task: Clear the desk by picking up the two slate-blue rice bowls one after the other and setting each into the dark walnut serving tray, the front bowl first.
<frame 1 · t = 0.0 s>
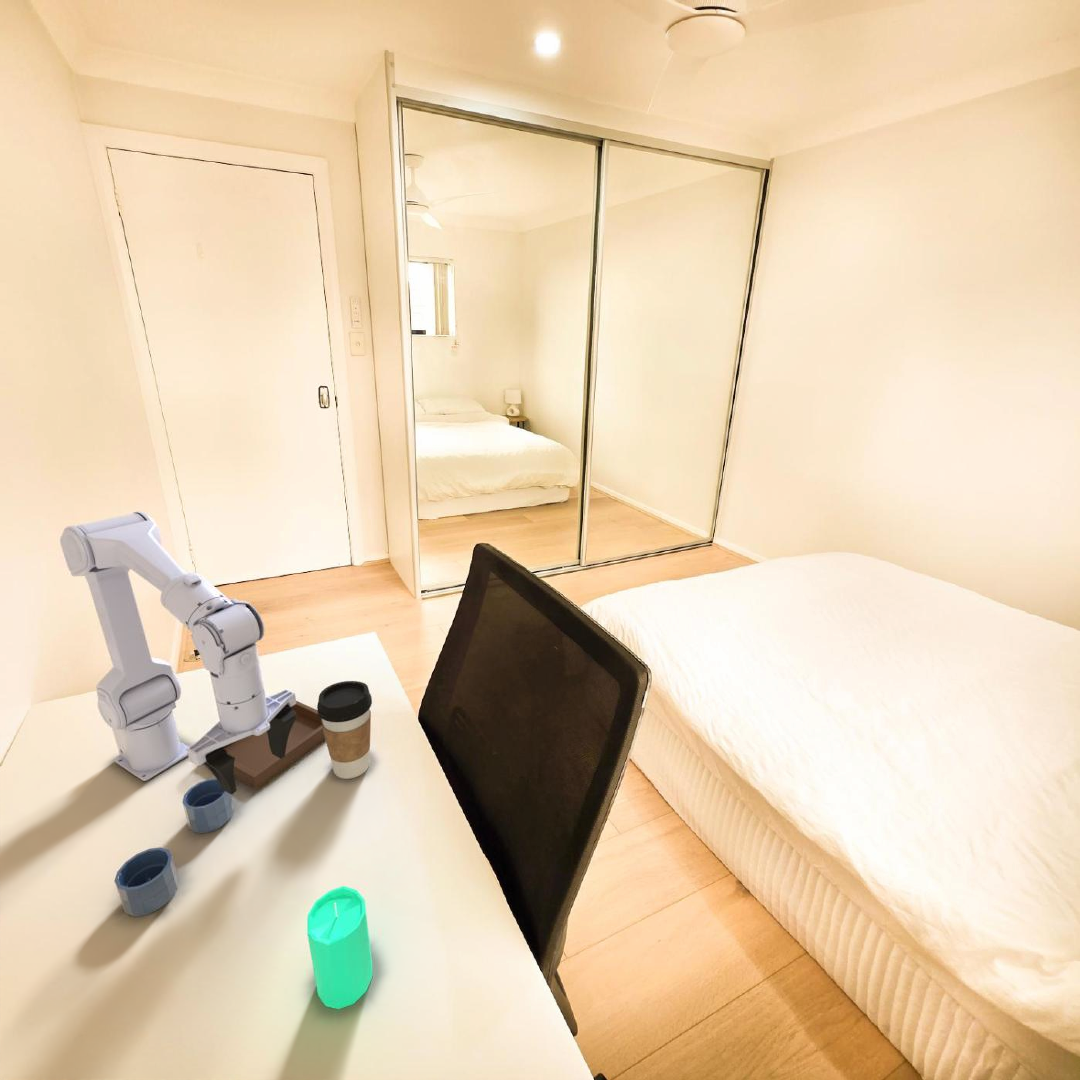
hand: (255, 772, 75), 10 cm above the table, tool pointing down, fingers open, 7 cm apart
rice bowl b: (212, 818, 80), on the table
candle: (345, 979, 60), on the table
rice bowl a: (152, 896, 68), on the table
coffee cup: (351, 766, 91), on the table
tray: (273, 744, 95), on the table
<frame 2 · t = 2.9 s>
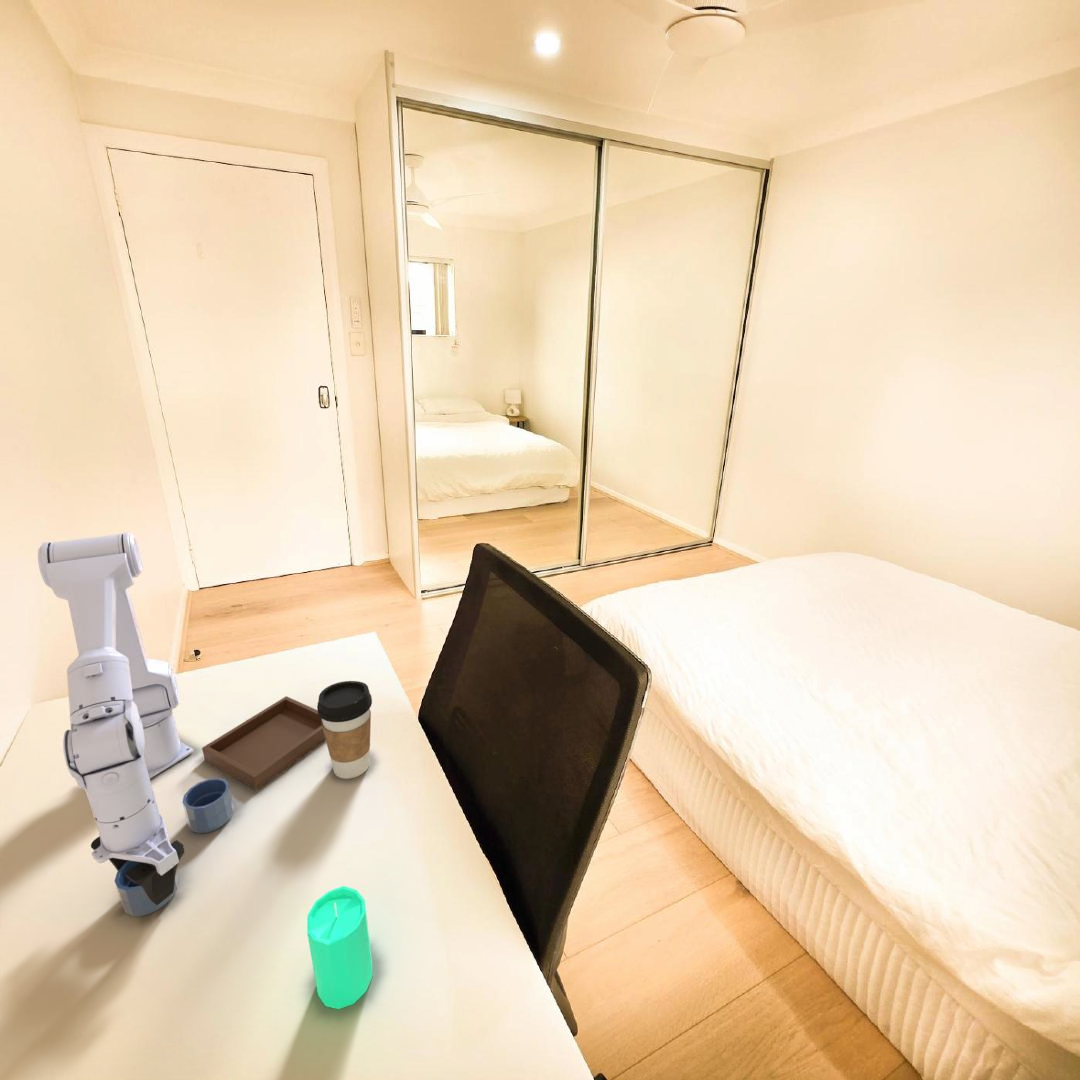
hand: (149, 885, 68), 2 cm above the table, tool pointing down, fingers closed on rice bowl a, 6 cm apart
rice bowl a: (152, 896, 68), on the table, touching gripper
everything else where it was.
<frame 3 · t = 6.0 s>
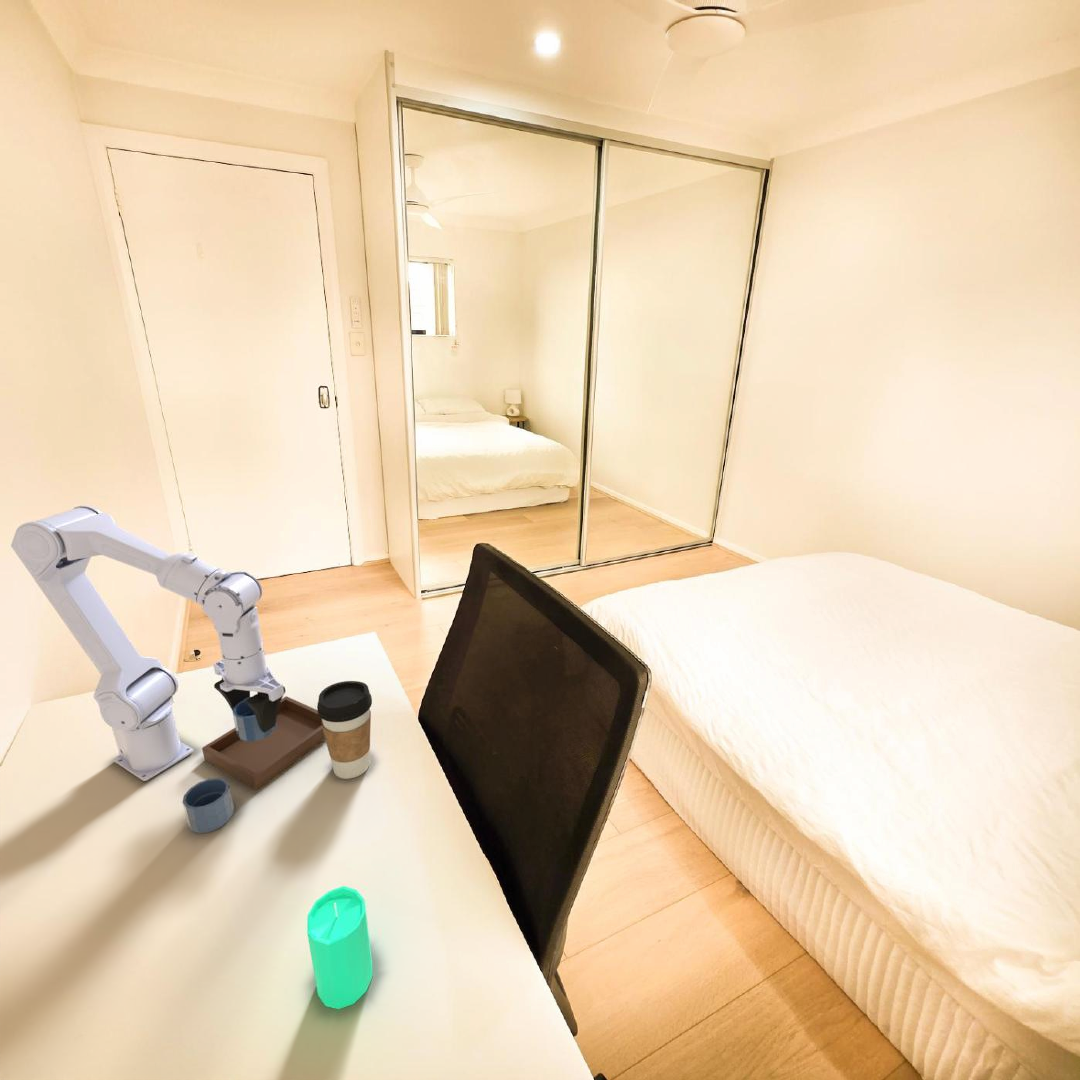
hand: (255, 721, 87), 9 cm above the table, tool pointing down, fingers closed on rice bowl a, 6 cm apart
rice bowl a: (257, 731, 88), point 7 cm above the table, touching gripper
everything else where it was.
when the fingers open (2 cm above the table, at t = 8.8 s): rice bowl a stays where it is, resting on tray.
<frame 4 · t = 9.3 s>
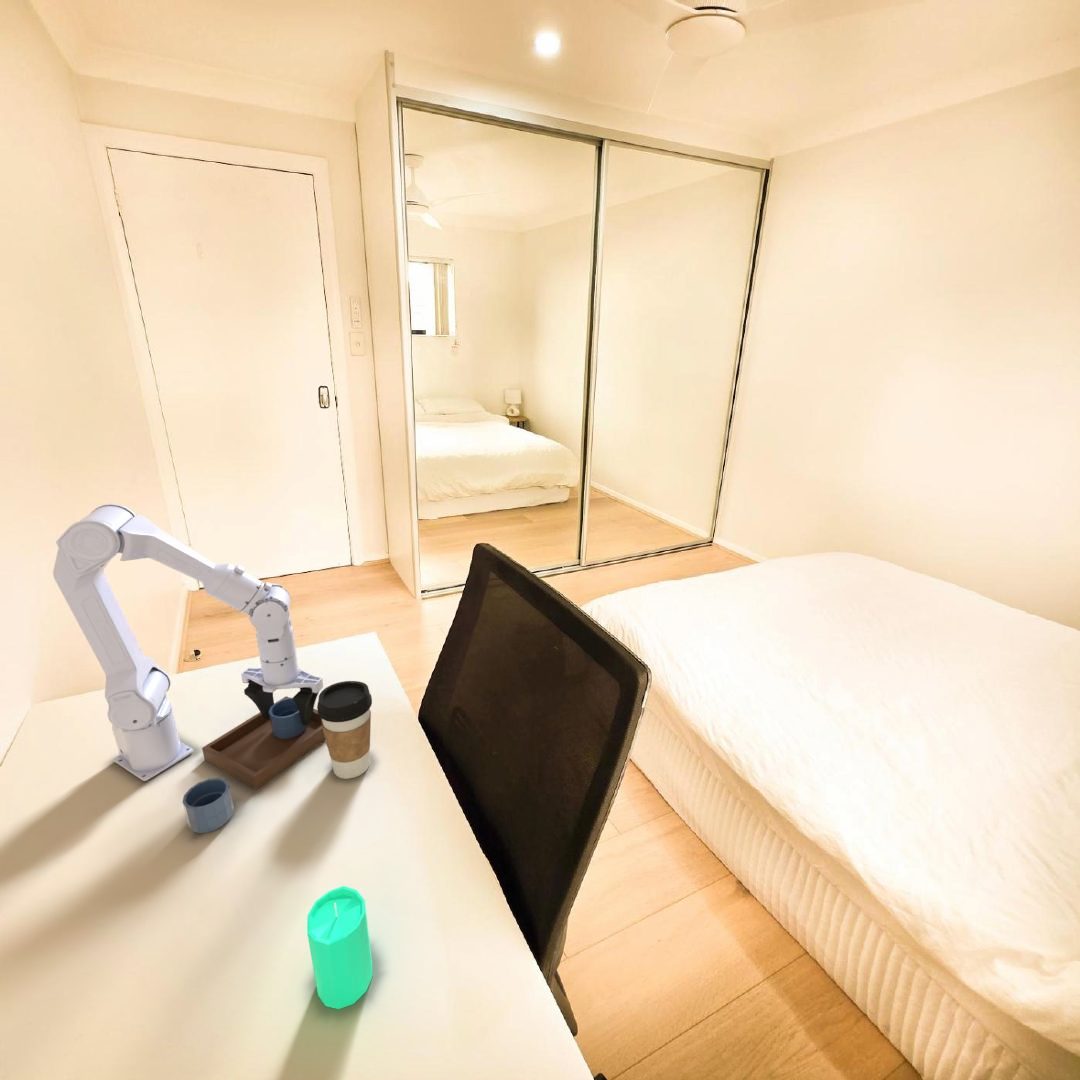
hand: (288, 718, 97), 3 cm above the table, tool pointing down, fingers open, 7 cm apart
rice bowl a: (290, 730, 98), point 1 cm above the table, touching tray
everything else where it was.
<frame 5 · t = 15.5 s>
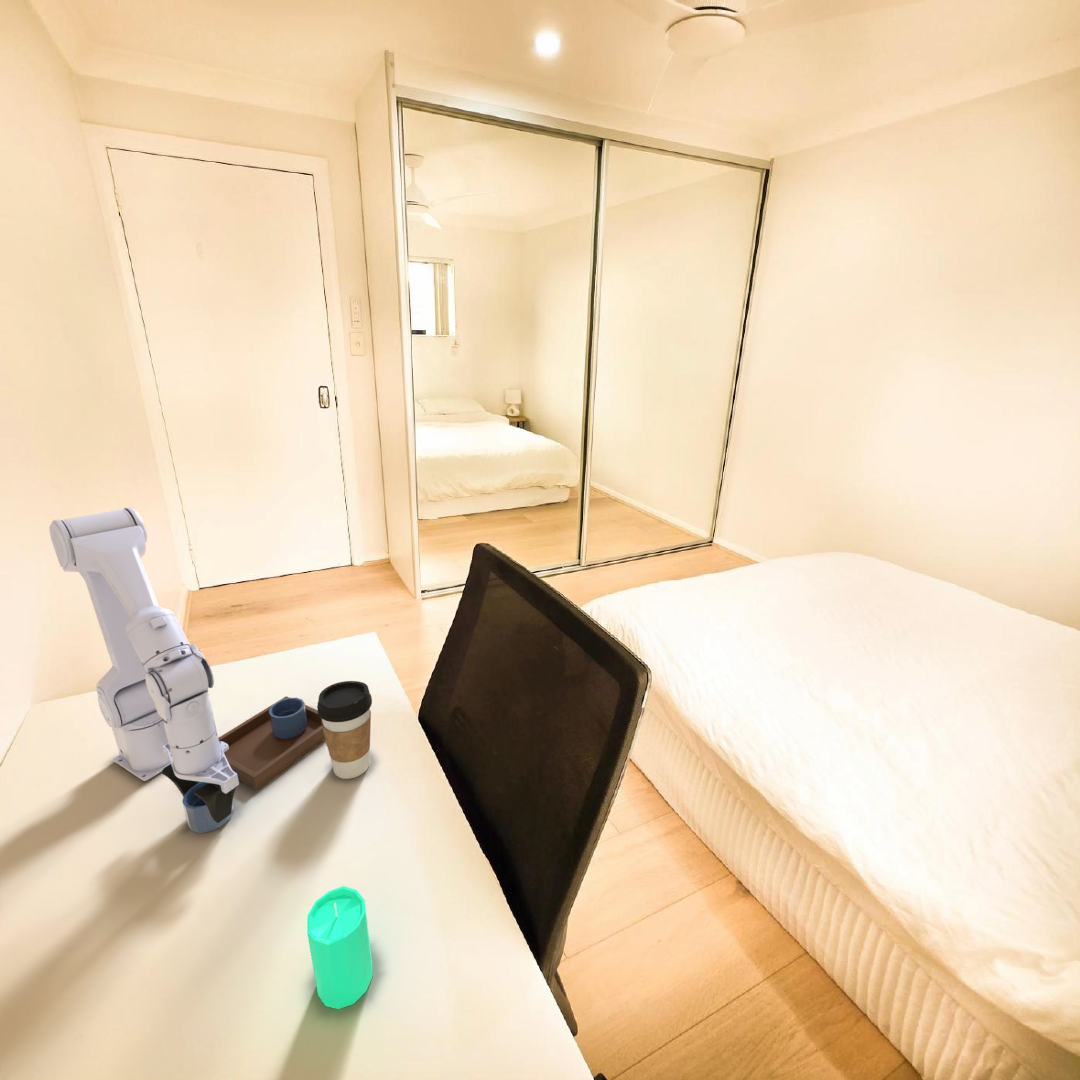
hand: (210, 808, 79), 2 cm above the table, tool pointing down, fingers closed on rice bowl b, 6 cm apart
rice bowl b: (212, 818, 80), on the table, touching gripper
everything else where it was.
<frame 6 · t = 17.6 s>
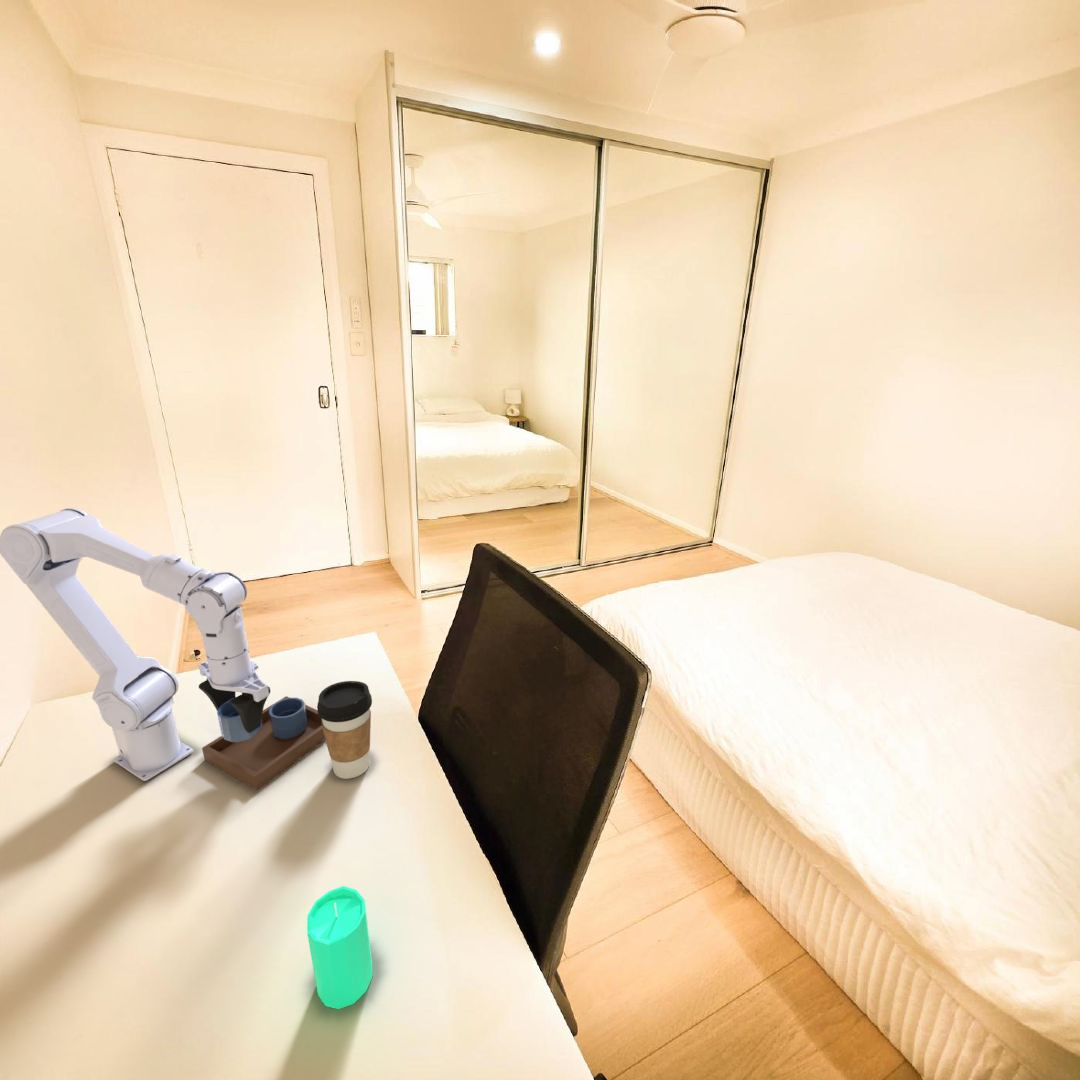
hand: (241, 722, 87), 9 cm above the table, tool pointing down, fingers closed on rice bowl b, 6 cm apart
rice bowl b: (243, 731, 88), point 7 cm above the table, touching gripper
everything else where it was.
when the fingers open (2 cm above the table, at t = 19.9 s): rice bowl b stays where it is, point 1 cm above the table.
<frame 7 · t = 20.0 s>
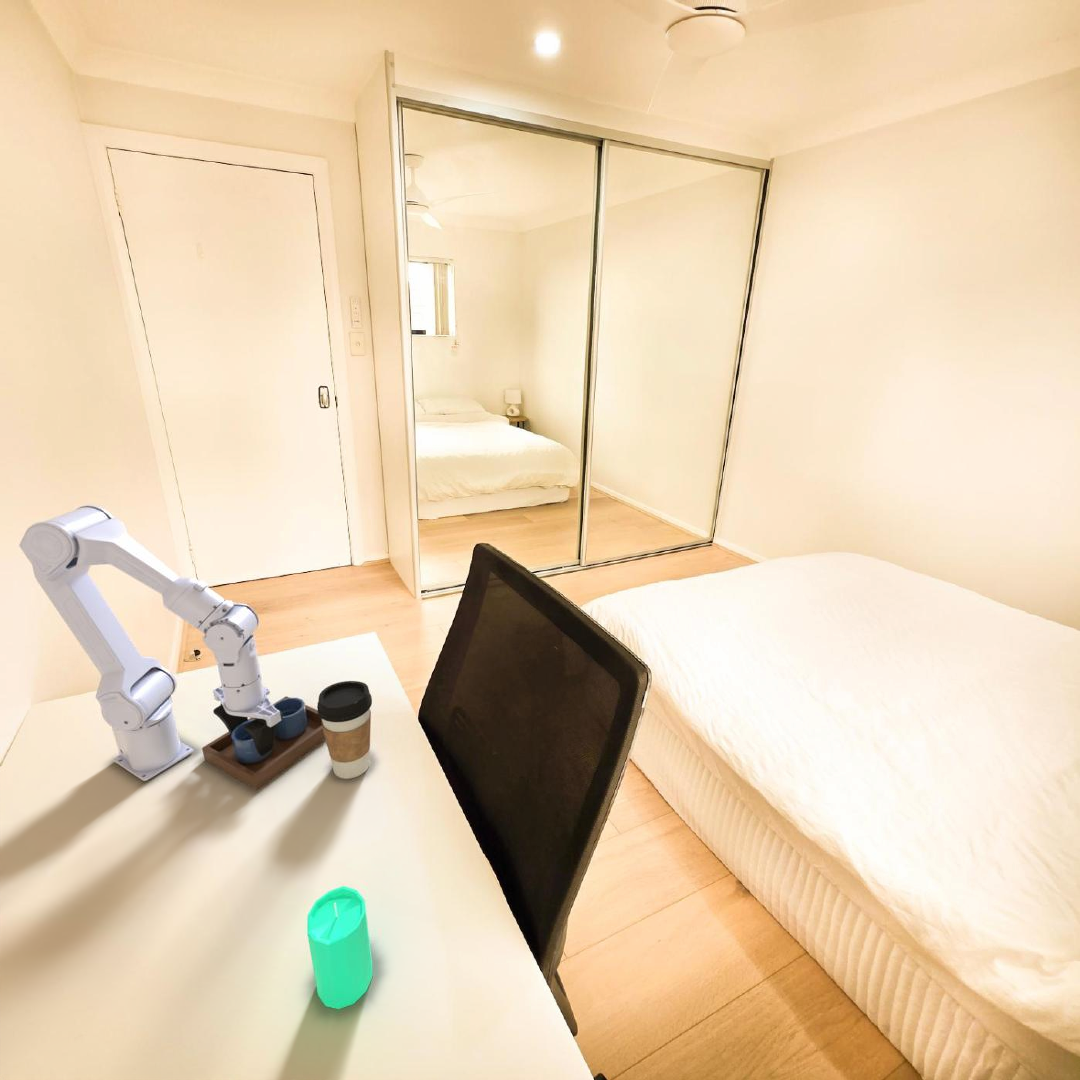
hand: (253, 745, 91), 2 cm above the table, tool pointing down, fingers open, 6 cm apart
rice bowl b: (255, 753, 92), point 1 cm above the table
everything else where it was.
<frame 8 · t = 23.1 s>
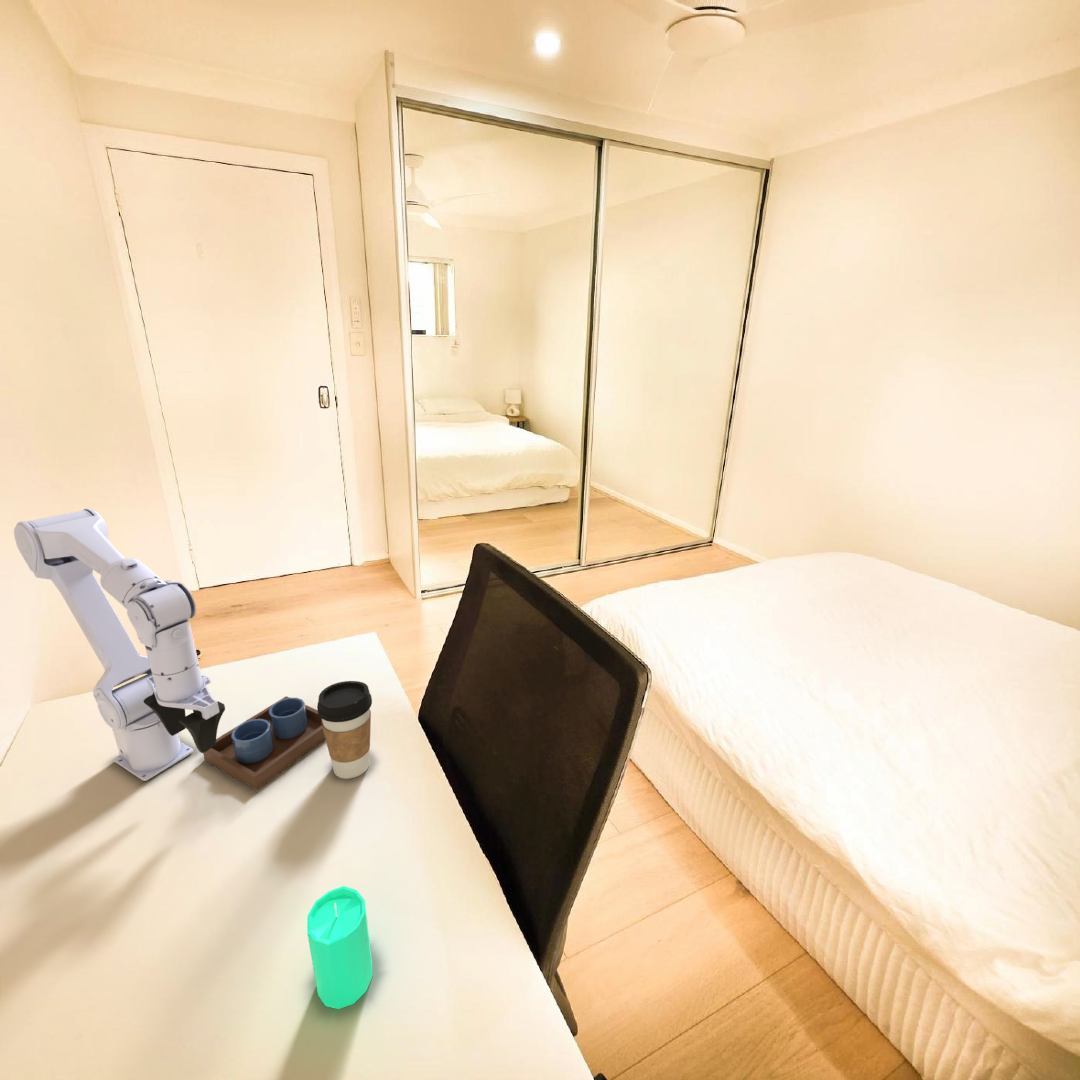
hand: (192, 739, 82), 9 cm above the table, tool pointing down, fingers open, 7 cm apart
rice bowl b: (255, 753, 92), point 1 cm above the table, touching tray
everything else where it was.
at the end: rice bowl a inside the target area in the tray (3.6 cm from its centre), point 0.6 cm above the tray's base; rice bowl b inside the target area in the tray (3.5 cm from its centre), point 0.6 cm above the tray's base; the gripper is holding nothing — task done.
